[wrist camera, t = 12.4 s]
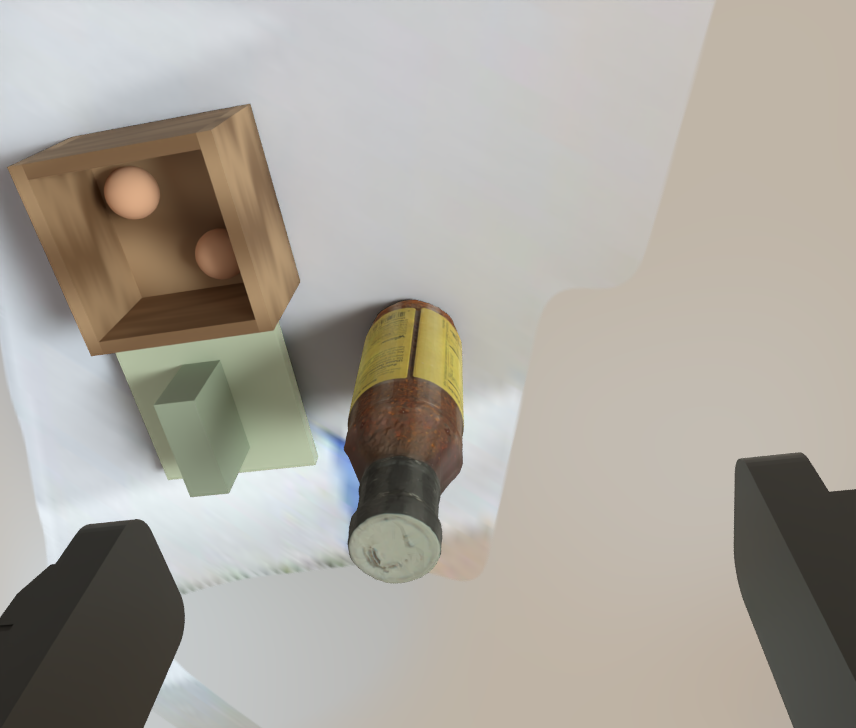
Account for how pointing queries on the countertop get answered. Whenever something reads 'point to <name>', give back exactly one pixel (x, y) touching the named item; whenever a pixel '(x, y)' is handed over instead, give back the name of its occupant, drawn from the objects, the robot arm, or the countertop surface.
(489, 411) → the countertop surface
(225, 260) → the ball
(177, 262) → the box
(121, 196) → the ball
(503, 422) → the countertop surface
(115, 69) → the countertop surface
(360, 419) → the sauce bottle
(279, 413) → the lid
